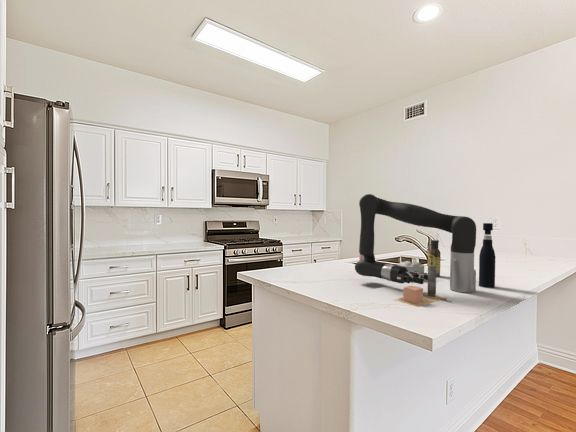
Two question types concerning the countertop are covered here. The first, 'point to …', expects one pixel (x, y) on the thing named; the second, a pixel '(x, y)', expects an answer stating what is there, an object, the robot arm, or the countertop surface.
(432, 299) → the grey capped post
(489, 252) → the wine bottle
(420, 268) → the lumpy-topped squat cylinder
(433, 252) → the sauce bottle
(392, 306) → the countertop surface
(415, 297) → the terracotta block
